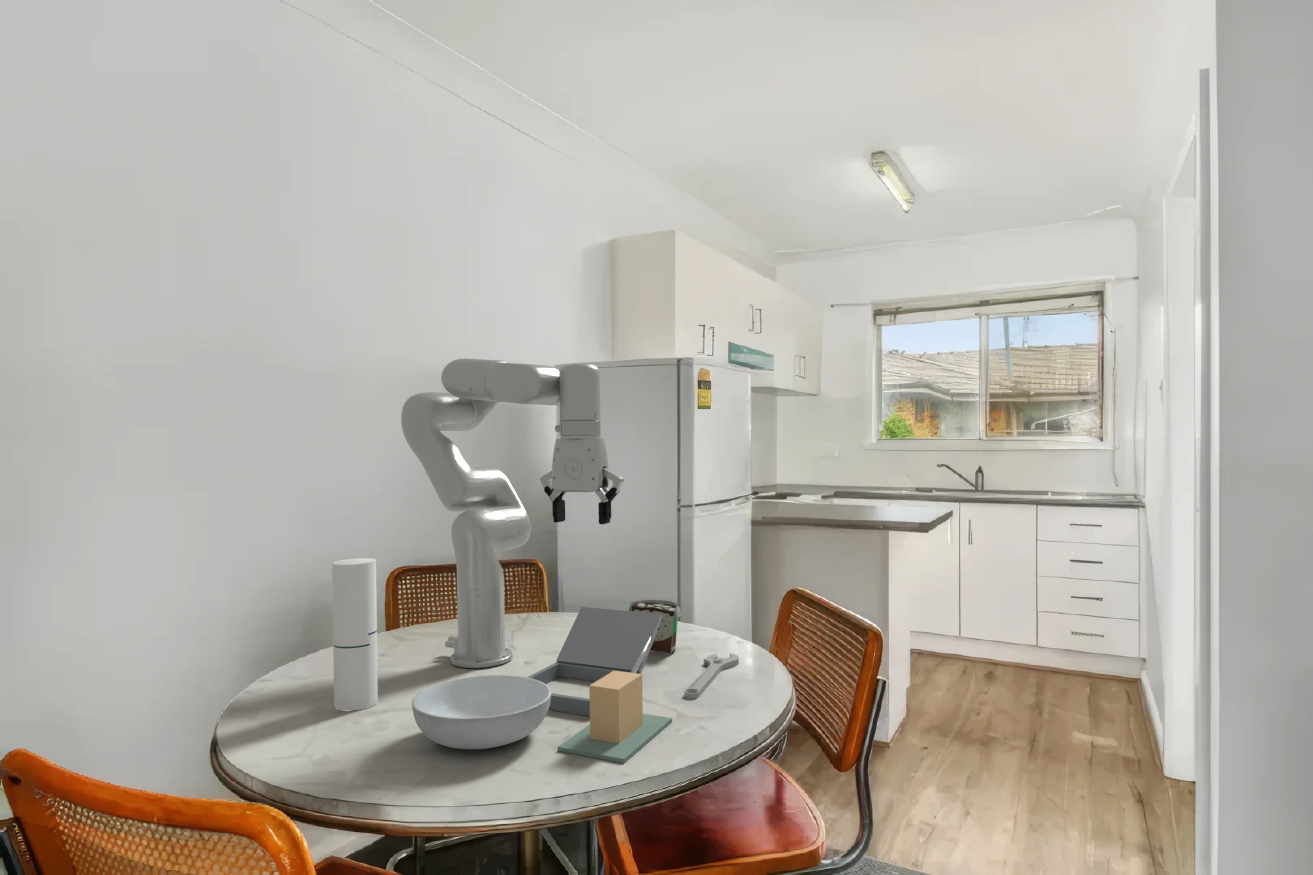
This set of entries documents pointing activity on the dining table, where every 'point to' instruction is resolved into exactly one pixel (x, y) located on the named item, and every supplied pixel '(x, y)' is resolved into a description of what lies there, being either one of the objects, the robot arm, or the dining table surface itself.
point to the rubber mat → (615, 751)
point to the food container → (668, 624)
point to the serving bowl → (481, 710)
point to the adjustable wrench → (710, 674)
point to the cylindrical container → (355, 633)
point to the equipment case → (600, 651)
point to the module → (616, 706)
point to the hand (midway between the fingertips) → (581, 522)
